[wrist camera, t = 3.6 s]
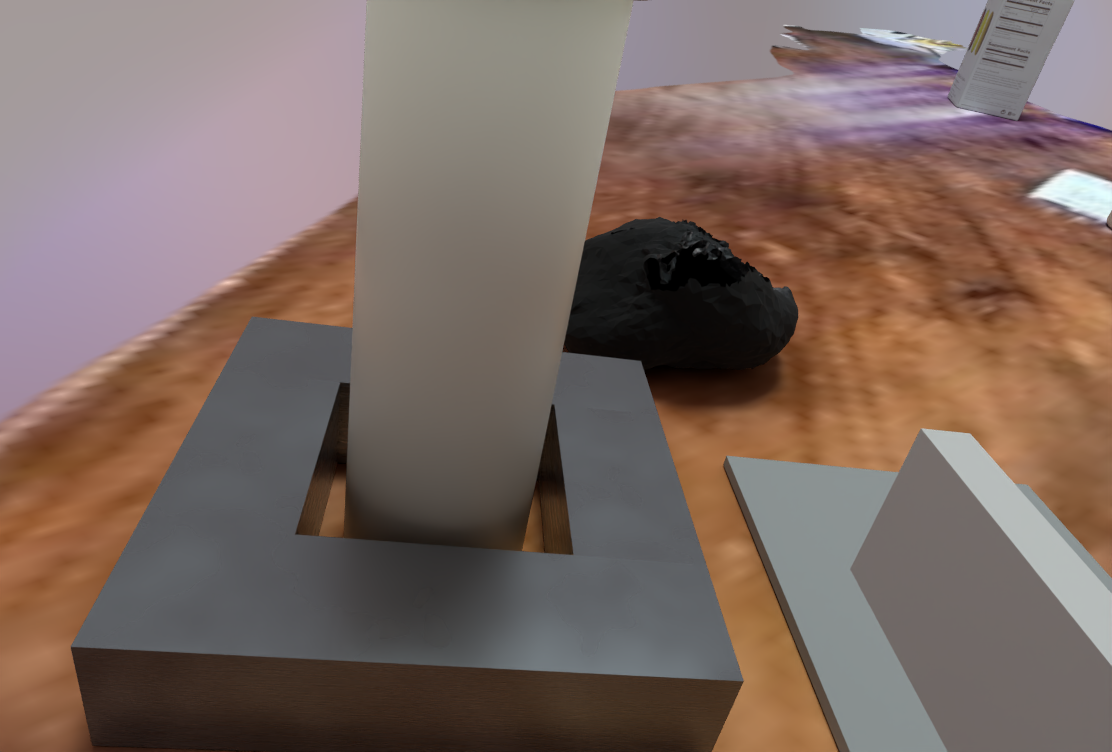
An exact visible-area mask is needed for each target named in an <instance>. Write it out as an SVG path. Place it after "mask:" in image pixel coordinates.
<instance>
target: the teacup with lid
mask: <svg viewBox="0 0 1112 752" xmlns="http://www.w3.org/2000/svg"><path fill="white" fill-rule="evenodd" d="M1107 224H1108V226H1109V227H1110V228H1111V229H1112V211H1111V213H1110V214H1109V216H1108V218H1107Z"/></svg>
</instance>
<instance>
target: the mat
mask: <svg viewBox="0 0 1112 752" xmlns="http://www.w3.org/2000/svg"><path fill="white" fill-rule="evenodd" d="M723 465H724V467H725V470H726V472H727V475H728V477H729V480H730V482H731V485H732V487H733V490H734V492H735V495H736V497H737V500H738V502H739V504H740V507H741V509H742V512H743V514H744V517H745V519H746V522H747V524H748V527H749V529H750V532H751V534H752V536H753V539H754V541H755V544H756V546H757V549H758V551H759V554H760V556H761V559H762V561H763V564H764V566H765V569H766V571H767V573H768V576H769V578H770V581H771V583H772V586H773V588H774V591H775V593H776V596H777V598H778V601H779V603H780V606H781V608H782V610H783V613H784V615H785V618H786V620H787V623H788V625H789V628H790V630H791V633H792V635H793V638H794V640H795V643H796V645H797V647H798V650H799V652H800V655H801V657H802V660H803V662H804V665H805V667H806V670H807V672H808V675H809V677H810V679H811V682H812V684H813V687H814V689H815V692H816V694H817V697H818V699H819V702H820V704H821V707H822V709H823V712H824V714H825V716H826V719H827V721H828V724H829V726H830V729H831V731H832V734H833V736H834V739H835V741H836V744H837V746H838V749H839V751H840V752H948V751H947V750H946V748H945V746H944V744H943V742H942V740H941V738H940V736H939V735H938V733H937V731H936V729H935V727H934V725H933V723H932V721H931V720H930V718H929V716H928V714H927V712H926V710H925V708H924V707H923V705H922V703H921V701H920V699H919V697H918V695H917V693H916V692H915V690H914V688H913V686H912V684H911V682H910V680H909V678H908V677H907V675H906V673H905V671H904V669H903V667H902V665H901V663H900V662H899V660H898V658H897V656H896V654H895V652H894V650H893V649H892V647H891V645H890V643H889V641H888V639H887V637H886V635H885V634H884V632H883V630H882V628H881V626H880V624H879V622H878V620H877V619H876V617H875V615H874V613H873V611H872V609H871V607H870V605H869V604H868V602H867V600H866V598H865V596H864V594H863V592H862V591H861V589H860V587H859V585H858V583H857V581H856V579H855V577H854V576H853V574H852V572H851V570H850V568H851V566H852V564H853V562H854V560H855V558H856V556H857V554H858V552H859V550H860V548H861V546H862V544H863V542H864V540H865V539H866V537H867V535H868V533H869V531H870V529H871V527H872V525H873V523H874V521H875V519H876V517H877V515H878V513H879V511H880V509H881V507H882V505H883V503H884V501H885V499H886V497H887V495H888V493H889V491H890V489H891V487H892V485H893V483H894V481H895V479H896V477H897V475H898V473H899V472H888V471H878V470H868V469H857V468H847V467H837V466H826V465H816V464H806V463H795V462H785V461H775V460H764V459H754V458H744V457H733V456H726V459H725V461H724V464H723ZM1015 485H1016V486H1017V487H1018V488H1019V489H1020V491H1021V492H1022V493H1023V494H1024V495H1025V496H1026V497H1027V498H1028V500H1029V501H1030V502H1031V503H1032V504H1033V505H1034V506H1035V507H1036V509H1037V510H1038V511H1039V512H1040V513H1041V514H1042V515H1043V517H1044V518H1045V519H1046V520H1047V521H1048V522H1049V523H1050V524H1051V526H1052V527H1053V528H1054V529H1055V530H1056V531H1057V532H1058V533H1059V535H1060V536H1061V537H1062V538H1063V539H1064V540H1065V541H1066V542H1067V544H1068V545H1069V546H1070V547H1071V548H1072V549H1073V550H1074V552H1075V553H1076V554H1077V555H1078V556H1079V557H1080V558H1081V559H1082V561H1083V562H1084V563H1085V564H1086V565H1087V566H1088V567H1089V568H1090V570H1091V571H1092V572H1093V573H1094V574H1095V575H1096V576H1097V578H1098V579H1099V580H1100V581H1101V582H1102V583H1103V584H1104V585H1105V587H1106V588H1107V589H1108V590H1109V591H1110V592H1111V593H1112V578H1111V577H1110V576H1109V575H1108V574H1107V573H1106V572H1105V570H1104V569H1103V568H1102V567H1101V566H1100V565H1099V564H1098V563H1097V562H1096V560H1095V559H1094V558H1093V557H1092V556H1091V555H1090V554H1089V553H1088V552H1087V550H1086V549H1085V548H1084V547H1083V546H1082V545H1081V544H1080V543H1079V542H1078V540H1077V539H1076V538H1075V537H1074V536H1073V535H1072V534H1071V533H1070V532H1069V530H1068V529H1067V528H1066V527H1065V526H1064V525H1063V524H1062V523H1061V522H1060V520H1059V519H1058V518H1057V517H1056V516H1055V515H1054V514H1053V513H1052V512H1051V510H1050V509H1049V508H1048V507H1047V506H1046V505H1045V504H1044V503H1043V502H1042V500H1041V499H1040V498H1039V497H1038V496H1037V495H1036V494H1035V493H1034V492H1033V490H1032V489H1031V488H1030V487H1029V486H1028V485H1023V484H1015Z"/></svg>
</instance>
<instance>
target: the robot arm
mask: <svg viewBox="0 0 1112 752" xmlns="http://www.w3.org/2000/svg"><path fill="white" fill-rule="evenodd" d="M850 570H851V572H852V574H853V576H854V577H855V579H856V581H857V583H858V585H859V587H860V589H861V591H862V592H863V594H864V596H865V598H866V600H867V602H868V604H869V605H870V607H871V609H872V611H873V613H874V615H875V617H876V619H877V620H878V622H879V624H880V626H881V628H882V630H883V632H884V634H885V635H886V637H887V639H888V641H889V643H890V645H891V647H892V649H893V650H894V652H895V654H896V656H897V658H898V660H899V662H900V663H901V665H902V667H903V669H904V671H905V673H906V675H907V677H908V678H909V680H910V682H911V684H912V686H913V688H914V690H915V692H916V693H917V695H918V697H919V699H920V701H921V703H922V705H923V707H924V708H925V710H926V712H927V714H928V716H929V718H930V720H931V721H932V723H933V725H934V727H935V729H936V731H937V733H938V735H939V736H940V738H941V740H942V742H943V744H944V746H945V748H946V750H947V751H948V752H1112V593H1111V592H1110V591H1109V590H1108V589H1107V588H1106V587H1105V585H1104V584H1103V583H1102V582H1101V581H1100V580H1099V579H1098V578H1097V576H1096V575H1095V574H1094V573H1093V572H1092V571H1091V570H1090V568H1089V567H1088V566H1087V565H1086V564H1085V563H1084V562H1083V561H1082V559H1081V558H1080V557H1079V556H1078V555H1077V554H1076V553H1075V552H1074V550H1073V549H1072V548H1071V547H1070V546H1069V545H1068V544H1067V542H1066V541H1065V540H1064V539H1063V538H1062V537H1061V536H1060V535H1059V533H1058V532H1057V531H1056V530H1055V529H1054V528H1053V527H1052V526H1051V524H1050V523H1049V522H1048V521H1047V520H1046V519H1045V518H1044V517H1043V515H1042V514H1041V513H1040V512H1039V511H1038V510H1037V509H1036V507H1035V506H1034V505H1033V504H1032V503H1031V502H1030V501H1029V500H1028V498H1027V497H1026V496H1025V495H1024V494H1023V493H1022V492H1021V491H1020V489H1019V488H1018V487H1017V486H1016V485H1015V484H1014V483H1013V481H1012V480H1011V479H1010V478H1009V477H1008V476H1007V475H1006V474H1005V472H1004V471H1003V470H1002V469H1001V468H1000V467H999V466H998V465H997V463H996V462H995V461H994V460H993V459H992V458H991V457H990V456H989V454H988V453H987V452H986V451H985V450H984V449H983V448H982V446H981V445H980V444H979V443H978V442H977V441H976V440H975V439H974V437H973V436H972V435H971V434H969V433H959V432H950V431H940V430H930V429H921V430H920V432H919V434H918V436H917V437H916V439H915V441H914V443H913V445H912V447H911V449H910V451H909V453H908V455H907V457H906V459H905V461H904V463H903V465H902V467H901V469H900V471H899V473H898V475H897V477H896V479H895V481H894V483H893V485H892V487H891V489H890V491H889V493H888V495H887V497H886V499H885V501H884V503H883V505H882V507H881V509H880V511H879V513H878V515H877V517H876V519H875V521H874V523H873V525H872V527H871V529H870V531H869V533H868V535H867V537H866V539H865V540H864V542H863V544H862V546H861V548H860V550H859V552H858V554H857V556H856V558H855V560H854V562H853V564H852V566H851V568H850Z"/></svg>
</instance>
